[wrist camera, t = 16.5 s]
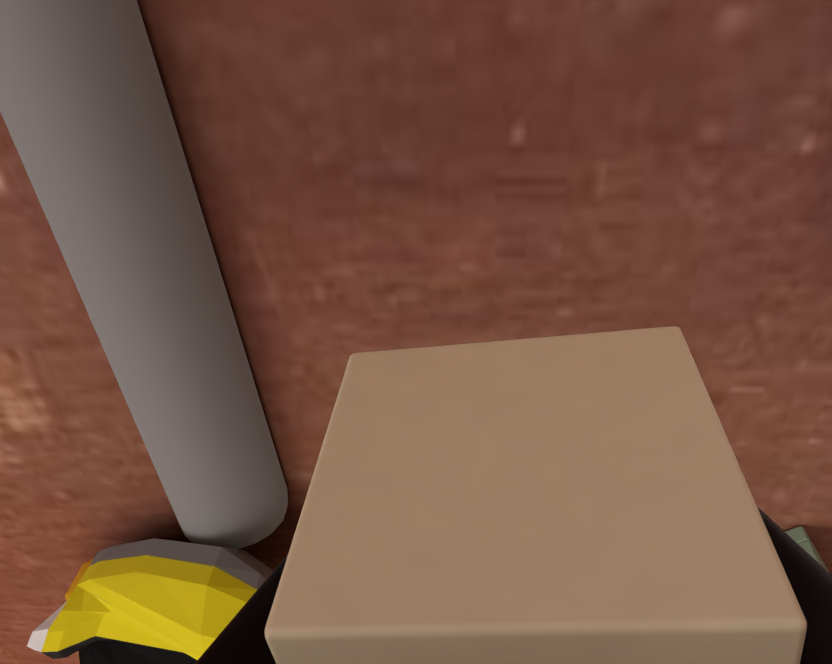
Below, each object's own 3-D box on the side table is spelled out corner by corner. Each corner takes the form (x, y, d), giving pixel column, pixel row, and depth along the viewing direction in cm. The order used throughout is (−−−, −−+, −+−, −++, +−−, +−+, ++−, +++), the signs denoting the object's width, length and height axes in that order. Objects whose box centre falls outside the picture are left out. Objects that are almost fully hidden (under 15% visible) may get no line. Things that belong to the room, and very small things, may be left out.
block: (680, 322, 8) (813, 625, 5) (671, 555, 10) (757, 882, 7) (348, 351, 9) (257, 634, 5) (402, 564, 11) (360, 866, 7)
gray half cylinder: (182, 513, 25) (163, 553, 24) (-92, -131, 15) (-157, -133, 13) (296, 510, 24) (283, 551, 23) (89, -163, 14) (43, -170, 13)
